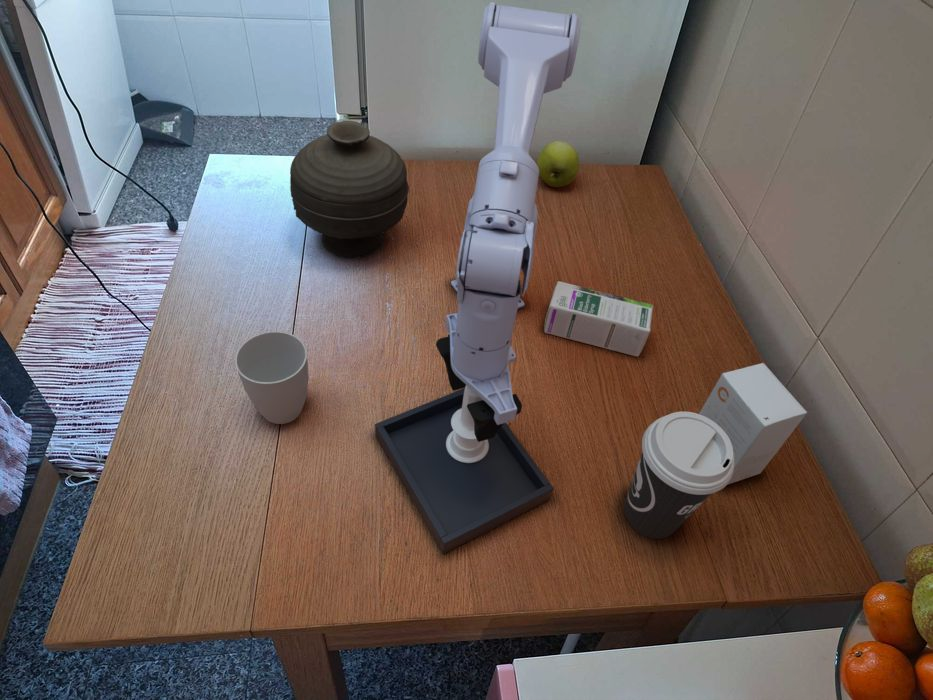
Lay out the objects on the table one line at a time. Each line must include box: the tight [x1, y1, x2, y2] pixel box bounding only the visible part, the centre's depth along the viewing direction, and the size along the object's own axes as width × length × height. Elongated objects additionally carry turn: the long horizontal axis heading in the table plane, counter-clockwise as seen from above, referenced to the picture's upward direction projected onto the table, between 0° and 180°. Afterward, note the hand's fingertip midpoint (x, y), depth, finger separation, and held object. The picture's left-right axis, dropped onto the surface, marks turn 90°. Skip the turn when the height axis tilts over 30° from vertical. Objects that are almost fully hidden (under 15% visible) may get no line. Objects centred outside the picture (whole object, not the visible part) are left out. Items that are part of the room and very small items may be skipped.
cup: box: [234, 330, 309, 425], centre depth 79 cm, size 8×8×10 cm
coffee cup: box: [623, 411, 734, 540], centre depth 71 cm, size 10×10×15 cm
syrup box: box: [543, 280, 654, 357], centre depth 94 cm, size 6×6×14 cm
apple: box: [536, 140, 580, 188], centre depth 120 cm, size 8×9×8 cm
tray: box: [374, 388, 554, 555], centre depth 78 cm, size 18×15×3 cm
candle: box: [446, 385, 489, 463], centre depth 76 cm, size 5×5×12 cm
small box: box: [698, 362, 808, 486], centre depth 79 cm, size 8×6×13 cm
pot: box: [289, 120, 410, 260], centre depth 99 cm, size 18×18×20 cm
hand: (471, 411), depth 75 cm, fingers open, 7 cm apart
